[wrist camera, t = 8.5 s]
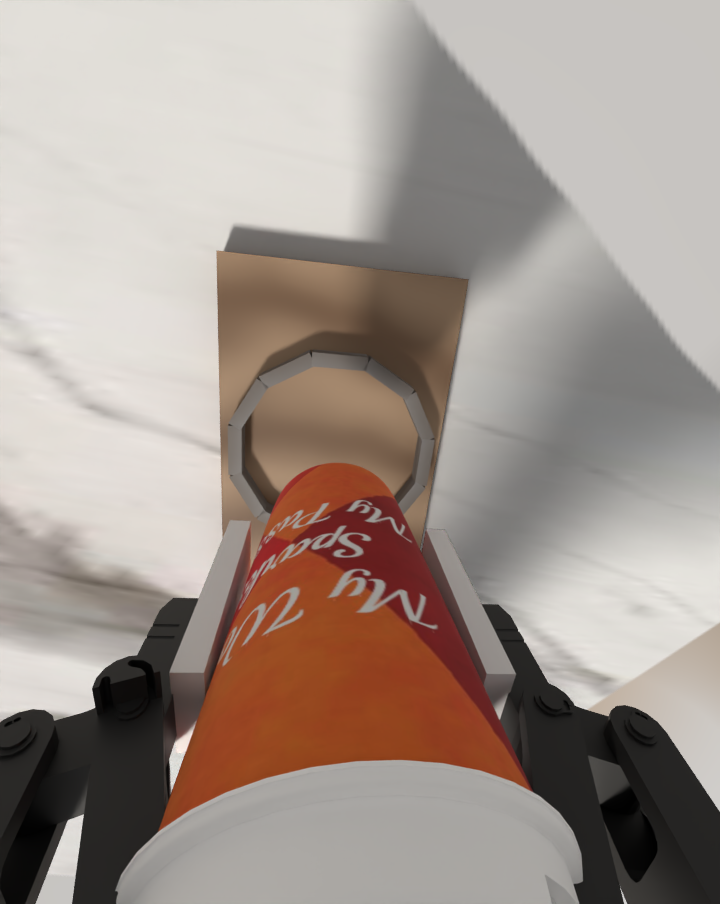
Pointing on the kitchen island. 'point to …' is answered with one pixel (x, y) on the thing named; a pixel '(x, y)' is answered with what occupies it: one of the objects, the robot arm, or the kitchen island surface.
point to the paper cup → (349, 736)
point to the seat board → (330, 378)
